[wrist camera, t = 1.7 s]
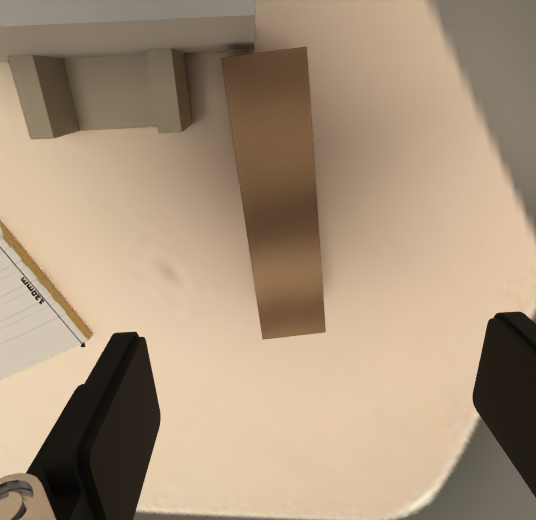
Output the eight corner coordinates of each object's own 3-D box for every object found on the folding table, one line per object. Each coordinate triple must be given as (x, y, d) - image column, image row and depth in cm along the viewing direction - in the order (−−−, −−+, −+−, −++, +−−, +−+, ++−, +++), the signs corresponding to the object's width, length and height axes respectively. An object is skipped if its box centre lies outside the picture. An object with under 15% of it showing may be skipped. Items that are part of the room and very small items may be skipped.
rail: (227, 62, 24) (221, 57, 18) (295, 53, 23) (306, 46, 18) (261, 296, 30) (262, 339, 25) (313, 290, 30) (325, 332, 25)
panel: (-33, 38, 22) (-411, -13, 10) (252, 26, 23) (252, -42, 10) (-3, 133, 24) (-280, 193, 12) (257, 120, 25) (262, 166, 12)
